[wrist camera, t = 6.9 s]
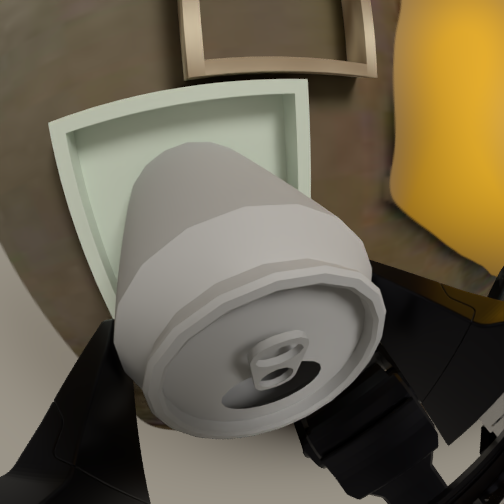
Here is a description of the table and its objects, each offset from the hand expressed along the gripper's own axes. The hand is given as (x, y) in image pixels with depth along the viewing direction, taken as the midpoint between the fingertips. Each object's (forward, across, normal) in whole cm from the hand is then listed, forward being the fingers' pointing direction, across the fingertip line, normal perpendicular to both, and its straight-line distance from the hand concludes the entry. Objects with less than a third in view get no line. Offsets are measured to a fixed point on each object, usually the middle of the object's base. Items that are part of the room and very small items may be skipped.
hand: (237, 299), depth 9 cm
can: (+9, 0, 0) cm, 9 cm away
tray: (+9, 0, 0) cm, 9 cm away
